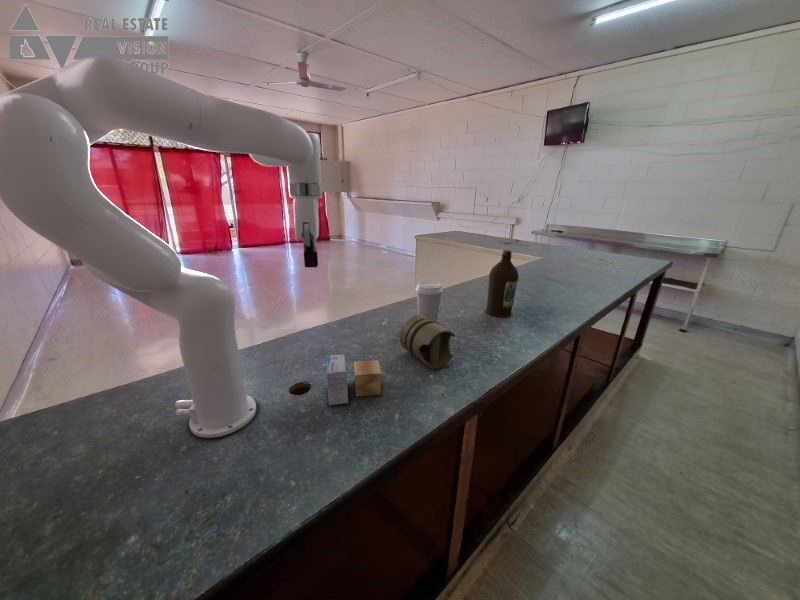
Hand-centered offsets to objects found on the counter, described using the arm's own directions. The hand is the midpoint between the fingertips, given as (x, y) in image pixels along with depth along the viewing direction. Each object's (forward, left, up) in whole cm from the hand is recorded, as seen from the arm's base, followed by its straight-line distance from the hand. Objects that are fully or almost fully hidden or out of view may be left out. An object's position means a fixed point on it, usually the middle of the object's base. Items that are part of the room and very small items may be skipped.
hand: (311, 266), depth 81 cm
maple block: (+13, -16, -27) cm, 34 cm away
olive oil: (+68, +26, -27) cm, 78 cm away
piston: (+31, -4, -27) cm, 42 cm away
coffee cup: (+37, +19, -27) cm, 50 cm away
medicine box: (+6, -18, -27) cm, 33 cm away
